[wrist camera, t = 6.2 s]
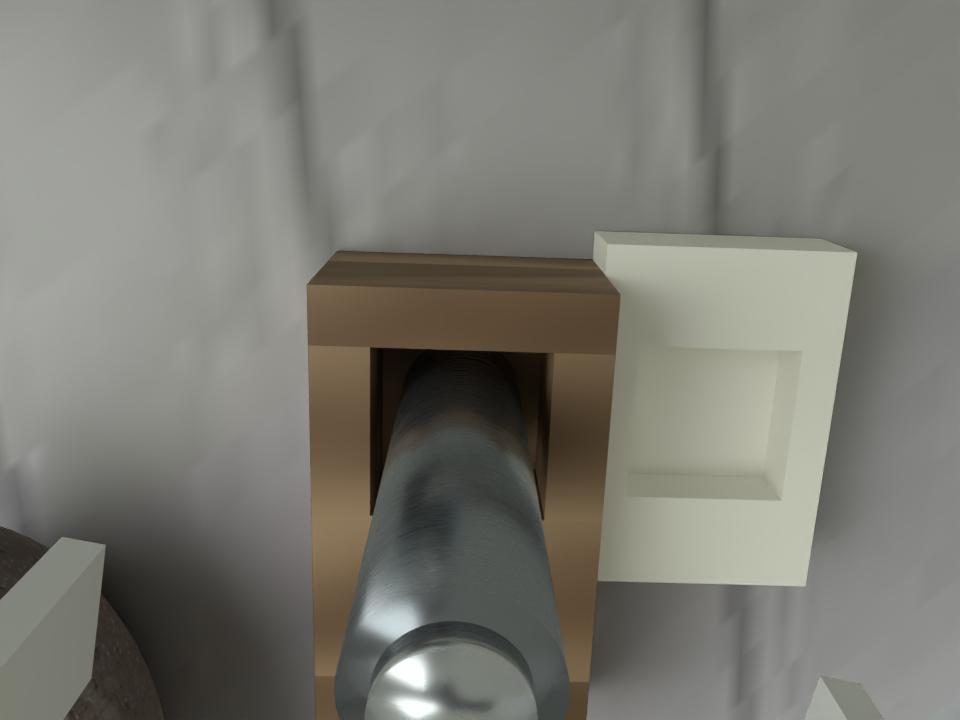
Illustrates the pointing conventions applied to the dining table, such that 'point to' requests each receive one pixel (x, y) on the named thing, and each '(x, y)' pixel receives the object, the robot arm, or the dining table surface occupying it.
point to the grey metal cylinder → (455, 561)
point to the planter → (117, 659)
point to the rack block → (719, 404)
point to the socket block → (377, 391)
